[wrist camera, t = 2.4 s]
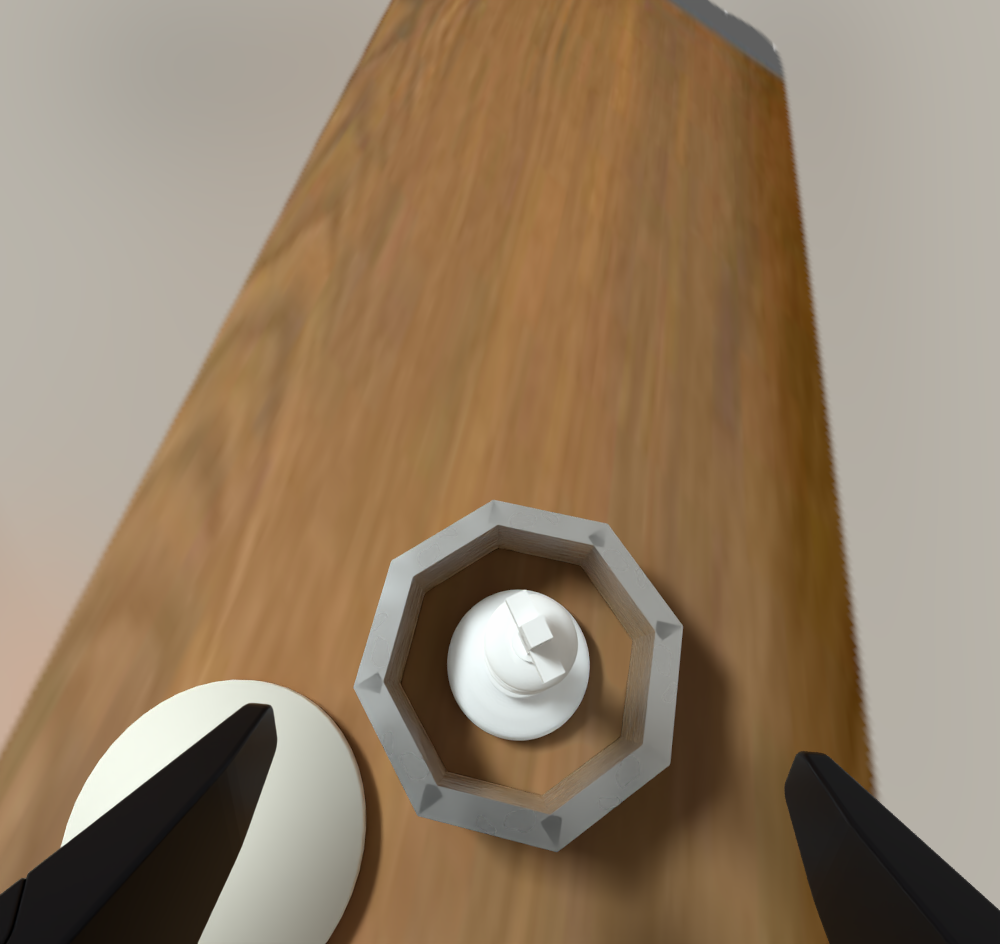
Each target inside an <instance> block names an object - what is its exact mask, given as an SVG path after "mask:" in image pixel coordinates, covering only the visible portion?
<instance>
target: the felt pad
mask: <svg viewBox="0 0 1000 944" xmlns="http://www.w3.org/2000/svg"><path fill="white" fill-rule="evenodd" d="M248 703H260V704H269V705H271V706H272V708H273V711H274V717H275V724H276V731H277V748H276V752H275V755H274V758H273V761H272V764H271V766H270V769H269V772H268V775H267V778H266V781H265V784H264V786H263V789H262V792H261V795H260V798H259V801H258V803H257V806H256V809H255V812H254V815H253V818H252V821H251V823H250V826H249V829H248V832H247V835H246V837H245V840H244V843H243V845H242V848H241V850H240V852H239V855H238V857H237V859H236V862H235V864H234V866H233V868H232V870H231V872H230V875H229V877H228V879H227V881H226V883H225V885H224V888H223V890H222V892H221V894H220V896H219V898H218V901H217V903H216V905H215V907H214V909H213V911H212V914H211V916H210V918H209V920H208V922H207V924H206V927H205V929H204V931H203V933H202V935H201V937H200V940H199V942H198V944H326V942H327V941H328V940H329V938H330V937H331V935H332V933H333V931H334V930H335V928H336V926H337V924H338V923H339V921H340V919H341V918H342V916H343V914H344V911H345V909H346V907H347V905H348V902H349V900H350V898H351V896H352V893H353V890H354V887H355V884H356V881H357V878H358V874H359V871H360V866H361V862H362V857H363V852H364V845H365V834H366V802H365V795H364V787H363V782H362V778H361V774H360V771H359V767H358V764H357V761H356V759H355V756H354V754H353V751H352V749H351V747H350V745H349V743H348V741H347V740H346V738H345V736H344V734H343V733H342V731H341V730H340V729H339V727H338V726H337V725H336V723H335V722H334V721H333V719H332V718H331V717H330V716H329V715H328V714H327V713H326V712H325V711H324V710H323V709H322V708H321V707H320V706H318V705H317V704H316V703H314V702H313V701H311V700H310V699H308V698H307V697H306V696H304V695H302V694H300V693H298V692H296V691H294V690H292V689H290V688H287V687H284V686H281V685H278V684H275V683H269V682H263V681H254V680H227V681H219V682H213V683H209V684H205V685H201V686H197V687H194V688H192V689H189V690H186V691H184V692H181V693H179V694H177V695H175V696H173V697H171V698H169V699H167V700H165V701H163V702H162V703H160V704H159V705H157V706H156V707H154V708H153V709H151V710H150V711H148V712H147V713H145V714H144V715H143V716H142V717H140V718H139V719H138V720H137V721H136V722H134V723H133V724H132V725H131V726H130V727H129V728H127V729H126V731H125V732H124V733H123V734H122V735H121V736H120V737H119V738H118V739H117V740H116V741H115V742H114V743H113V744H112V745H111V747H110V748H109V749H108V750H107V752H106V753H105V754H104V756H103V757H102V758H101V759H100V761H99V762H98V764H97V765H96V767H95V768H94V770H93V771H92V773H91V775H90V776H89V778H88V779H87V781H86V783H85V785H84V787H83V789H82V791H81V793H80V795H79V797H78V799H77V801H76V803H75V805H74V808H73V811H72V813H71V816H70V818H69V821H68V823H67V827H66V831H65V834H64V838H63V842H62V845H61V847H62V846H64V845H65V844H66V843H68V842H69V841H70V840H71V839H73V838H74V837H75V836H77V835H78V834H79V833H80V832H82V831H83V830H84V829H86V828H87V827H88V826H89V825H91V824H92V823H93V822H95V821H96V820H97V819H98V818H100V817H101V816H102V815H104V814H105V813H106V812H107V811H109V810H110V809H111V808H113V807H114V806H115V805H116V804H118V803H119V802H120V801H121V800H123V799H124V798H125V797H127V796H128V795H129V794H131V793H132V792H133V791H134V790H136V789H137V788H138V787H139V786H141V785H142V784H143V783H145V782H146V781H147V780H148V779H150V778H151V777H152V776H154V775H155V774H156V773H157V772H159V771H160V770H161V769H163V768H164V767H165V766H166V765H168V764H169V763H170V762H172V761H173V760H174V759H175V758H177V757H178V756H179V755H181V754H182V753H183V752H184V751H186V750H187V749H188V748H190V747H191V746H192V745H193V744H195V743H196V742H197V741H199V740H200V739H201V738H202V737H204V736H205V735H206V734H208V733H209V732H210V731H211V730H213V729H214V728H215V727H217V726H218V725H219V724H220V723H222V722H223V721H224V720H226V719H227V718H228V717H229V716H231V715H232V714H233V713H235V712H236V711H237V710H238V709H240V708H241V707H242V706H244V705H246V704H248Z"/></svg>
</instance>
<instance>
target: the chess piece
mask: <svg viewBox="0 0 1000 944" xmlns="http://www.w3.org/2000/svg"><path fill="white" fill-rule="evenodd" d="M589 670H590V661H589V652H588V647H587V643H586V640H585V637H584V635H583V633H582V630H581V628H580V627H579V625H578V623H577V622H576V620H575V619H574V618H573V616H572V615H571V614H570V613H569V612H568V611H567V610H566V609H565V608H564V607H563V606H562V605H561V604H559V603H558V602H556V601H555V600H553V599H552V598H550V597H548V596H546V595H543V594H541V593H538V592H534V591H529V590H526V589H525V590H507V591H502V592H498V593H495V594H493V595H490V596H488V597H486V598H485V599H483V600H481V601H480V602H478V603H477V604H476V605H474V606H473V607H472V608H471V609H470V610H469V611H468V612H467V613H466V614H465V615H464V617H463V618H462V619H461V621H460V622H459V624H458V626H457V627H456V629H455V631H454V634H453V636H452V639H451V642H450V645H449V650H448V658H447V671H448V679H449V683H450V687H451V690H452V693H453V695H454V698H455V700H456V702H457V703H458V705H459V707H460V708H461V710H462V711H463V712H464V714H465V715H466V716H467V717H468V718H469V719H470V720H471V721H472V722H473V723H474V724H475V725H476V726H478V727H479V728H481V729H482V730H484V731H485V732H487V733H489V734H491V735H494V736H496V737H499V738H503V739H507V740H517V741H523V740H531V739H536V738H539V737H542V736H545V735H547V734H549V733H551V732H553V731H555V730H556V729H558V728H559V727H561V726H562V725H563V724H564V723H565V722H566V721H567V720H568V719H569V718H570V717H571V716H572V715H573V714H574V712H575V711H576V709H577V708H578V706H579V704H580V703H581V701H582V699H583V696H584V694H585V691H586V688H587V684H588V678H589Z"/></svg>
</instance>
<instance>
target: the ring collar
mask: <svg viewBox="0 0 1000 944" xmlns="http://www.w3.org/2000/svg"><path fill="white" fill-rule="evenodd" d="M496 548H502V549H507V550H511V551H516V552H520V553H525V554H529V555H534V556H539V557H543V558H548V559H552V560H557V561H562V562H566V563H571V564H575V565H580V566H581V567H582V568H583V570H584V571H585V572H586V574H587V575H588V577H589V578H590V580H591V581H592V582H593V584H594V585H595V587H596V588H597V590H598V591H599V592H600V594H601V595H602V597H603V598H604V600H605V601H606V603H607V604H608V605H609V607H610V608H611V610H612V611H613V613H614V614H615V615H616V617H617V618H618V620H619V621H620V623H621V624H622V625H623V627H624V628H625V630H626V631H627V633H628V634H629V635H630V637H631V638H632V640H633V643H632V651H631V659H630V667H629V675H628V683H627V691H626V699H625V707H624V715H623V723H622V731H621V737H620V738H619V739H617V740H616V741H615V742H613V743H612V744H611V745H609V746H608V747H607V748H605V749H604V750H603V751H601V752H600V753H599V754H597V755H596V756H595V757H593V758H592V759H591V760H589V761H588V762H586V763H585V764H584V765H582V766H581V767H580V768H578V769H577V770H576V771H574V772H573V773H572V774H570V775H569V776H568V777H566V778H565V779H564V780H562V781H561V782H560V783H558V784H557V785H556V786H554V787H553V788H552V789H550V790H549V791H548V792H546V793H545V794H544V795H538V794H534V793H530V792H526V791H522V790H518V789H514V788H510V787H506V786H502V785H498V784H495V783H491V782H487V781H483V780H479V779H475V778H471V777H467V776H463V775H459V774H455V773H451V772H447V771H446V769H445V767H444V765H443V763H442V761H441V760H440V758H439V756H438V754H437V752H436V750H435V748H434V746H433V744H432V743H431V741H430V739H429V737H428V735H427V733H426V731H425V729H424V728H423V726H422V724H421V722H420V720H419V718H418V716H417V714H416V712H415V711H414V709H413V707H412V705H411V703H410V701H409V699H408V697H407V695H406V694H405V692H404V690H403V688H402V686H401V684H400V683H401V679H402V675H403V672H404V668H405V664H406V661H407V657H408V653H409V650H410V646H411V642H412V638H413V635H414V631H415V627H416V624H417V620H418V616H419V613H420V609H421V605H422V602H423V598H424V594H425V593H426V592H427V591H429V590H431V589H432V588H434V587H435V586H437V585H439V584H440V583H442V582H443V581H445V580H447V579H448V578H450V577H451V576H453V575H455V574H456V573H458V572H459V571H461V570H463V569H464V568H466V567H468V566H469V565H471V564H472V563H474V562H476V561H477V560H479V559H480V558H482V557H484V556H485V555H487V554H488V553H490V552H492V551H493V550H495V549H496ZM682 632H683V625H682V624H681V623H680V621H679V620H678V619H677V617H676V616H675V614H674V613H673V612H672V610H671V609H670V608H669V606H668V605H667V604H666V602H665V601H664V600H663V598H662V597H661V595H660V594H659V593H658V591H657V590H656V589H655V587H654V586H653V585H652V583H651V582H650V581H649V579H648V578H647V577H646V575H645V574H644V572H643V571H642V570H641V568H640V567H639V566H638V564H637V563H636V562H635V560H634V559H633V558H632V556H631V555H630V553H629V552H628V551H627V549H626V548H625V547H624V545H623V544H622V543H621V541H620V540H619V539H618V537H617V536H616V534H615V533H614V532H613V530H612V529H611V528H610V526H609V525H608V524H606V523H601V522H596V521H591V520H587V519H582V518H577V517H572V516H568V515H563V514H558V513H553V512H549V511H544V510H539V509H534V508H530V507H525V506H520V505H515V504H511V503H506V502H501V501H497V500H492V501H491V502H489V503H487V504H486V505H484V506H482V507H481V508H479V509H477V510H476V511H474V512H472V513H471V514H469V515H467V516H466V517H464V518H462V519H461V520H459V521H457V522H456V523H454V524H452V525H451V526H449V527H447V528H446V529H444V530H442V531H440V532H439V533H437V534H435V535H434V536H432V537H430V538H429V539H427V540H425V541H424V542H422V543H420V544H419V545H417V546H415V547H414V548H412V549H410V550H409V551H407V552H405V553H404V554H402V555H400V556H399V557H397V558H395V559H394V560H392V561H391V564H390V567H389V571H388V574H387V577H386V581H385V584H384V587H383V591H382V594H381V597H380V601H379V604H378V607H377V611H376V614H375V617H374V621H373V624H372V627H371V631H370V634H369V637H368V641H367V644H366V647H365V650H364V654H363V657H362V660H361V664H360V667H359V670H358V674H357V677H356V680H355V684H354V689H355V691H356V694H357V696H358V698H359V700H360V702H361V704H362V706H363V708H364V710H365V712H366V714H367V716H368V718H369V720H370V722H371V724H372V726H373V728H374V730H375V732H376V734H377V736H378V738H379V740H380V742H381V744H382V746H383V748H384V750H385V752H386V754H387V756H388V758H389V760H390V762H391V764H392V766H393V768H394V770H395V772H396V774H397V776H398V778H399V780H400V782H401V784H402V786H403V788H404V790H405V792H406V794H407V796H408V798H409V800H410V802H411V804H412V806H413V808H414V810H415V812H416V814H417V816H420V817H424V818H428V819H432V820H435V821H439V822H443V823H447V824H451V825H455V826H458V827H462V828H466V829H470V830H474V831H478V832H482V833H485V834H489V835H493V836H497V837H501V838H505V839H508V840H512V841H516V842H520V843H524V844H528V845H531V846H535V847H539V848H543V849H547V850H551V851H554V852H558V851H559V850H561V849H562V848H563V847H565V846H566V845H567V844H569V843H570V842H571V841H572V840H574V839H575V838H576V837H578V836H579V835H580V834H581V833H583V832H584V831H585V830H587V829H588V828H589V827H590V826H592V825H593V824H594V823H596V822H597V821H598V820H599V819H601V818H602V817H603V816H605V815H606V814H607V813H608V812H610V811H611V810H612V809H614V808H615V807H616V806H617V805H619V804H620V803H621V802H623V801H624V800H625V799H626V798H628V797H629V796H630V795H632V794H633V793H634V792H635V791H637V790H638V789H639V788H641V787H642V786H643V785H644V784H646V783H647V782H648V781H650V780H651V779H652V778H654V777H655V776H656V775H657V774H659V773H660V772H661V771H663V770H664V769H665V768H666V767H668V766H669V765H670V761H671V750H672V740H673V729H674V718H675V708H676V697H677V686H678V675H679V665H680V654H681V643H682Z"/></svg>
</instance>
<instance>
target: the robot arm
mask: <svg viewBox="0 0 1000 944" xmlns="http://www.w3.org/2000/svg"><path fill="white" fill-rule="evenodd" d="M276 748H277V731H276V724H275V717H274V711H273V708H272V706H271V705H269V704H260V703H248V704H246V705H244V706H242V707H241V708H240V709H238V710H237V711H236V712H235V713H233V714H232V715H231V716H229V717H228V718H227V719H226V720H224V721H223V722H222V723H220V724H219V725H218V726H217V727H215V728H214V729H213V730H211V731H210V732H209V733H208V734H206V735H205V736H204V737H202V738H201V739H200V740H199V741H197V742H196V743H195V744H193V745H192V746H191V747H190V748H188V749H187V750H186V751H184V752H183V753H182V754H181V755H179V756H178V757H177V758H175V759H174V760H173V761H172V762H170V763H169V764H168V765H166V766H165V767H164V768H163V769H161V770H160V771H159V772H157V773H156V774H155V775H154V776H152V777H151V778H150V779H148V780H147V781H146V782H145V783H143V784H142V785H141V786H139V787H138V788H137V789H136V790H134V791H133V792H132V793H131V794H129V795H128V796H127V797H125V798H124V799H123V800H121V801H120V802H119V803H118V804H116V805H115V806H114V807H113V808H111V809H110V810H109V811H107V812H106V813H105V814H104V815H102V816H101V817H100V818H98V819H97V820H96V821H95V822H93V823H92V824H91V825H89V826H88V827H87V828H86V829H84V830H83V831H82V832H80V833H79V834H78V835H77V836H75V837H74V838H73V839H71V840H70V841H69V842H68V843H66V844H65V845H64V846H62V847H61V848H60V849H59V850H57V851H56V852H55V853H53V854H52V855H51V856H50V857H48V858H47V859H46V860H44V861H43V862H42V863H41V864H39V865H38V866H37V867H35V868H34V869H33V870H32V871H30V872H29V873H28V875H27V877H26V878H21V879H20V880H18V881H17V882H16V883H14V884H13V885H12V886H11V887H9V888H8V889H7V890H5V891H4V892H3V893H2V894H0V944H198V942H199V940H200V937H201V935H202V933H203V931H204V929H205V927H206V924H207V922H208V920H209V918H210V916H211V914H212V911H213V909H214V907H215V905H216V903H217V901H218V898H219V896H220V894H221V892H222V890H223V888H224V885H225V883H226V881H227V879H228V877H229V875H230V872H231V870H232V868H233V866H234V864H235V862H236V859H237V857H238V855H239V852H240V850H241V848H242V845H243V843H244V840H245V837H246V835H247V832H248V829H249V826H250V823H251V821H252V818H253V815H254V812H255V809H256V806H257V803H258V801H259V798H260V795H261V792H262V789H263V786H264V784H265V781H266V778H267V775H268V772H269V769H270V766H271V764H272V761H273V758H274V755H275V752H276ZM785 799H786V803H787V806H788V810H789V813H790V817H791V821H792V824H793V828H794V832H795V835H796V839H797V843H798V846H799V850H800V853H801V857H802V861H803V864H804V868H805V872H806V875H807V879H808V883H809V886H810V889H811V893H812V896H813V899H814V902H815V905H816V908H817V911H818V914H819V917H820V919H821V922H822V925H823V927H824V930H825V933H826V935H827V938H828V941H829V943H830V944H1000V910H999V909H998V908H996V907H995V906H994V905H993V904H992V903H991V902H990V901H989V900H988V899H986V898H985V897H984V896H983V895H982V894H981V893H980V892H979V891H978V890H976V889H975V888H974V887H973V886H972V885H971V884H970V883H969V882H967V881H966V880H965V879H964V878H963V877H962V876H961V875H960V874H959V873H958V872H956V871H955V870H954V869H953V868H952V867H951V866H950V865H949V864H948V863H946V862H945V861H944V860H943V859H942V858H941V857H940V856H939V855H938V854H936V853H935V852H934V851H933V850H932V849H931V848H930V847H929V846H927V845H926V844H925V843H924V842H923V841H922V840H921V839H920V838H919V837H917V835H915V834H914V833H913V832H912V831H911V830H910V829H909V828H908V827H906V826H905V825H904V824H903V823H902V822H901V821H900V820H899V819H898V818H897V817H895V816H894V815H893V814H892V813H891V812H890V811H889V810H888V809H886V808H885V807H884V806H883V805H882V804H881V803H880V802H879V801H878V800H877V799H875V798H874V797H873V796H872V795H871V794H870V793H869V792H868V791H867V790H865V789H864V788H863V787H862V786H861V785H860V784H859V783H858V782H857V781H855V780H854V779H853V778H852V777H851V776H850V775H849V774H848V773H847V772H845V771H844V770H843V769H842V768H841V767H840V766H839V765H838V764H837V763H835V762H834V761H833V760H832V759H831V758H830V757H828V756H827V755H825V754H823V753H818V752H807V751H801V752H799V753H798V754H796V756H795V759H794V761H793V764H792V767H791V769H790V772H789V774H788V777H787V780H786V782H785Z"/></svg>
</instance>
